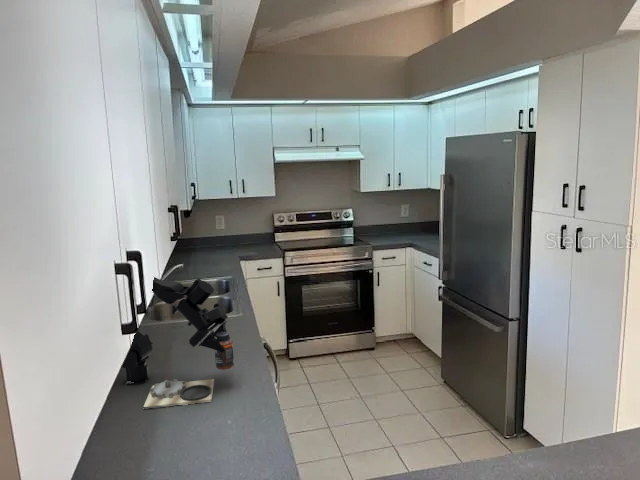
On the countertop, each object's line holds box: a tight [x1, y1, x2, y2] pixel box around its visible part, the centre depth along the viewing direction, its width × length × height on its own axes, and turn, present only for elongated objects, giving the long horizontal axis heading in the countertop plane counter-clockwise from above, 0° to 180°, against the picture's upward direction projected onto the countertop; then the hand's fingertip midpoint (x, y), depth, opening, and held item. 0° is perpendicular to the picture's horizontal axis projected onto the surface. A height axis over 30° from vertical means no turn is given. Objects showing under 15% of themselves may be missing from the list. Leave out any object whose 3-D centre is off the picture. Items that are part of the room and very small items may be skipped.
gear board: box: [143, 378, 215, 407], centre depth 153 cm, size 20×14×4 cm
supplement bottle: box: [214, 331, 235, 371], centre depth 157 cm, size 6×6×11 cm
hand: (227, 347), depth 156 cm, fingers closed on supplement bottle, 6 cm apart
